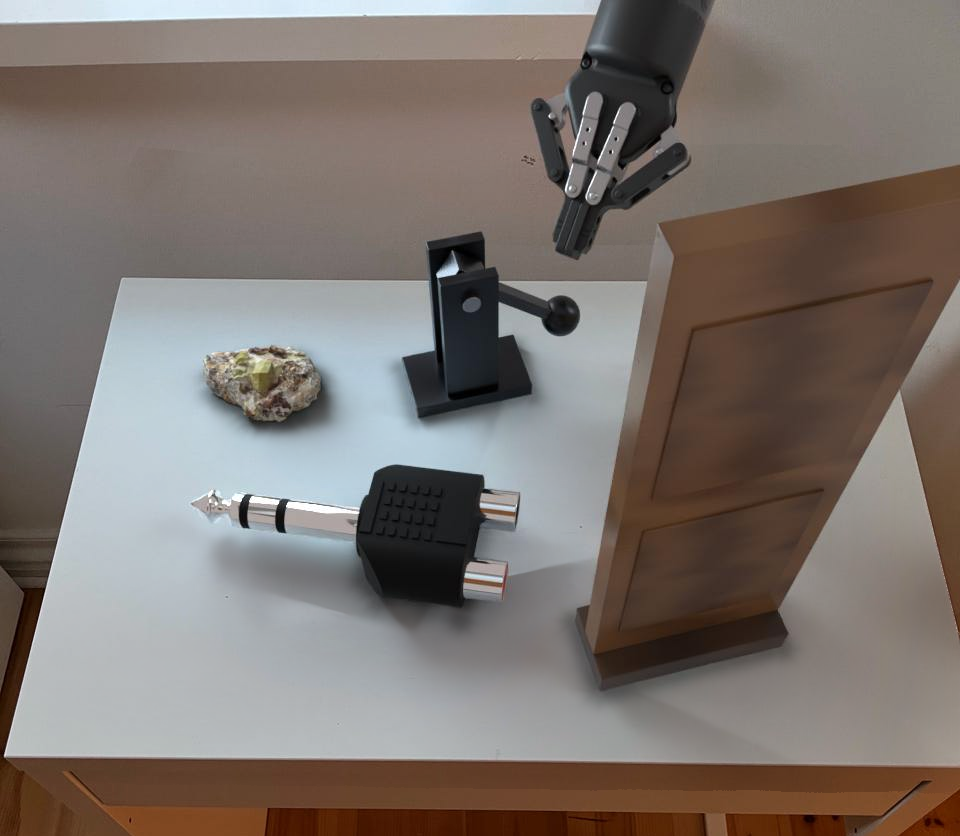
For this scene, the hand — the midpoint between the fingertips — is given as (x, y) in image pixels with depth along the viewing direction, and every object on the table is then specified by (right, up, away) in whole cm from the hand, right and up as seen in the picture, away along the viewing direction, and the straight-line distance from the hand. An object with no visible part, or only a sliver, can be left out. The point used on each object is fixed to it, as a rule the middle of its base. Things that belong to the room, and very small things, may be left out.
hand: (566, 255), depth 71 cm
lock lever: (-5, -3, +4) cm, 7 cm away
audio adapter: (-16, -22, +2) cm, 28 cm away
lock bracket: (-8, -7, +9) cm, 14 cm away
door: (+8, -29, -2) cm, 30 cm away
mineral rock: (-25, -8, +9) cm, 28 cm away
